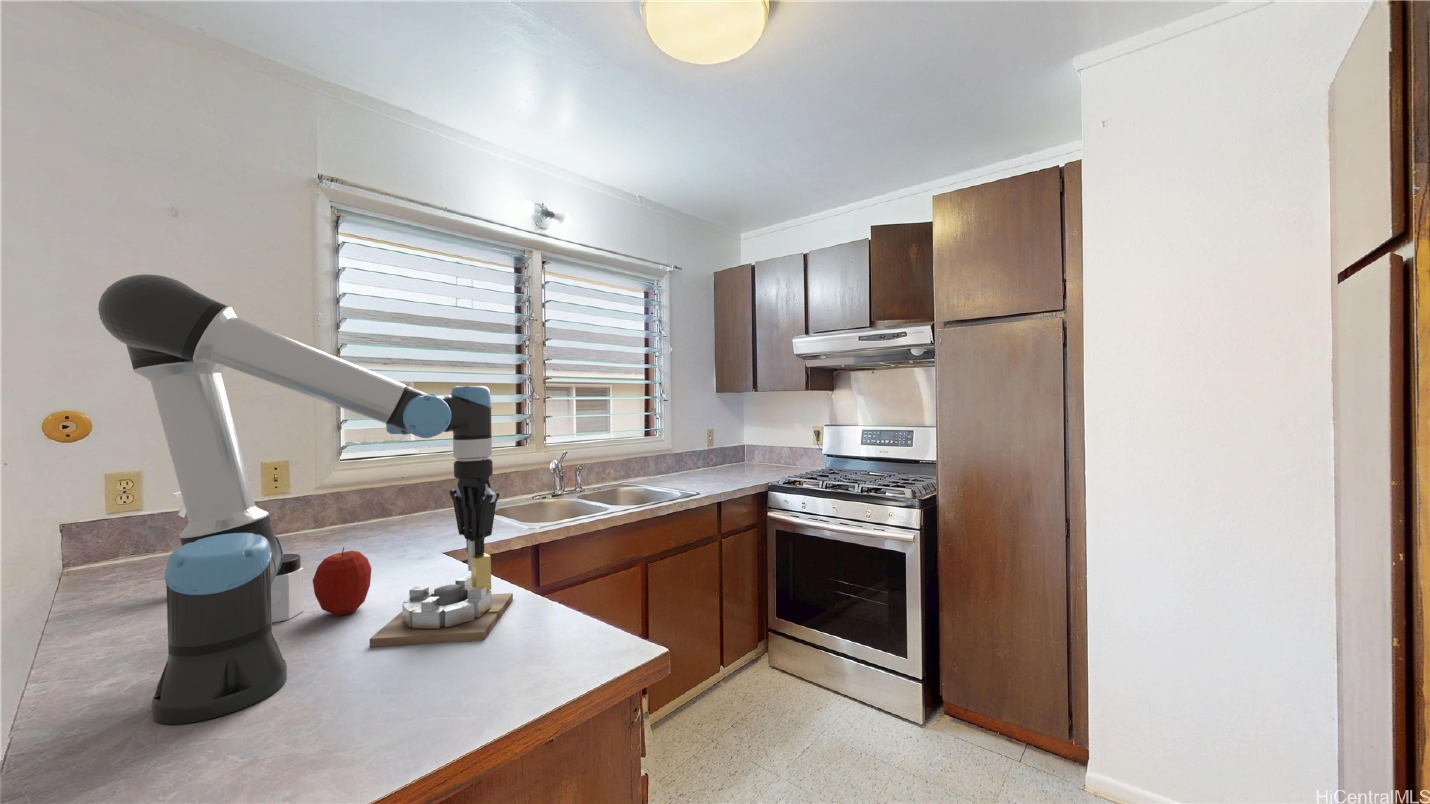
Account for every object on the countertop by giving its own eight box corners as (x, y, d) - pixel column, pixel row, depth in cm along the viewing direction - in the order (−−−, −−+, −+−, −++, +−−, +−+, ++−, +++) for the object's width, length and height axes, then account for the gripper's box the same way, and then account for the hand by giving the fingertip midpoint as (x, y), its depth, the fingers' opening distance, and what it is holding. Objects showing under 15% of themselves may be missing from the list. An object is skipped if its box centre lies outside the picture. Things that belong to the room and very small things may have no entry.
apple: (359, 600, 121) (358, 538, 121) (381, 609, 116) (380, 544, 115) (304, 616, 112) (303, 549, 112) (326, 626, 107) (324, 556, 107)
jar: (245, 628, 107) (244, 568, 106) (252, 615, 113) (251, 558, 113) (302, 617, 112) (301, 560, 111) (305, 605, 118) (304, 551, 118)
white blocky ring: (415, 635, 98) (414, 580, 98) (396, 611, 109) (395, 562, 109) (502, 611, 108) (501, 562, 108) (477, 592, 120) (476, 547, 120)
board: (484, 639, 100) (484, 604, 100) (369, 647, 98) (368, 611, 98) (512, 599, 120) (512, 570, 120) (417, 605, 118) (417, 575, 117)
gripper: (509, 457, 115) (511, 568, 115) (468, 455, 121) (470, 560, 121) (478, 462, 108) (481, 579, 108) (437, 459, 114) (440, 570, 115)
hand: (475, 569), depth 115 cm, fingers closed
